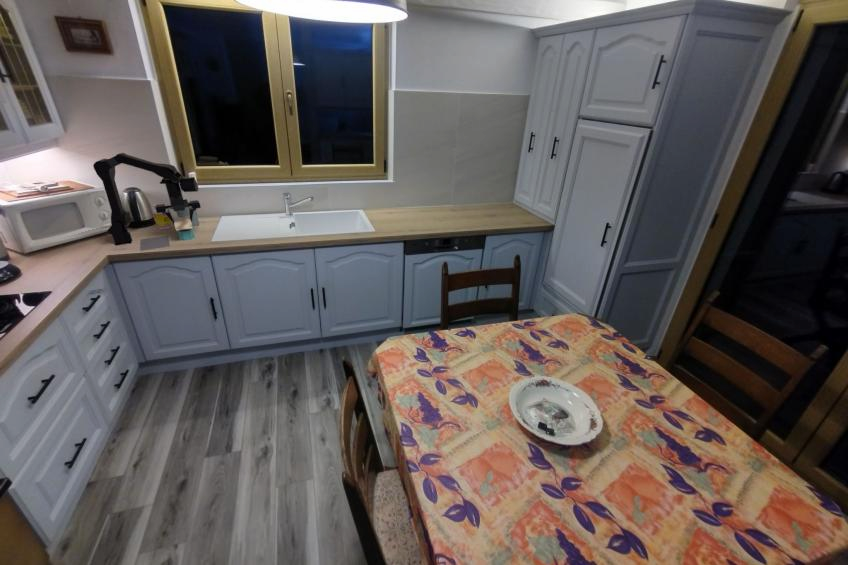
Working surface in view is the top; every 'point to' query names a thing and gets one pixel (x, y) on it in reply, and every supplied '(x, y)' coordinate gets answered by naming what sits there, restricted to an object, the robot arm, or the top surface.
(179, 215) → the grey-green cup
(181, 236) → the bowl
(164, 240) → the mat
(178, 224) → the cover board
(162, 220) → the supplement bottle
